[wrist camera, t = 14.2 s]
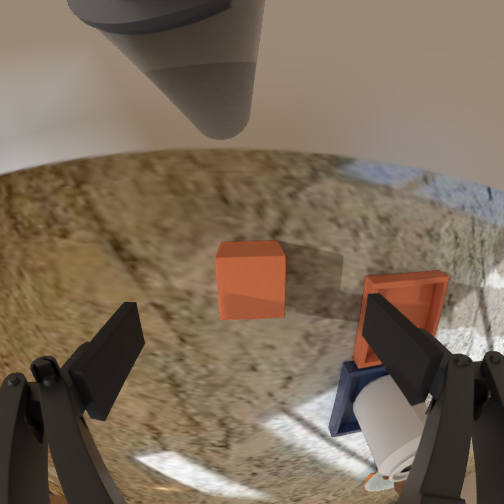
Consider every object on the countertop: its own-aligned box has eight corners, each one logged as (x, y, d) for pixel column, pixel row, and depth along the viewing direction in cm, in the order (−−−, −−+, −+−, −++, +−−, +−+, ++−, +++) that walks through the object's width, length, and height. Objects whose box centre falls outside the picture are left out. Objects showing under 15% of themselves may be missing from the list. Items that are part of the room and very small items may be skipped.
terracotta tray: (365, 275, 24) (373, 283, 22) (439, 270, 24) (449, 276, 22) (352, 358, 26) (358, 368, 24) (421, 344, 26) (429, 353, 24)
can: (345, 418, 28) (373, 493, 17) (357, 375, 26) (400, 458, 15) (396, 406, 28) (432, 471, 17) (412, 363, 26) (464, 430, 15)
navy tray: (343, 362, 26) (348, 373, 24) (426, 346, 26) (434, 354, 25) (328, 427, 29) (331, 437, 27) (402, 409, 29) (407, 418, 27)
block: (220, 241, 22) (215, 257, 18) (277, 240, 23) (286, 255, 18) (223, 294, 24) (219, 320, 19) (277, 292, 24) (284, 317, 19)
